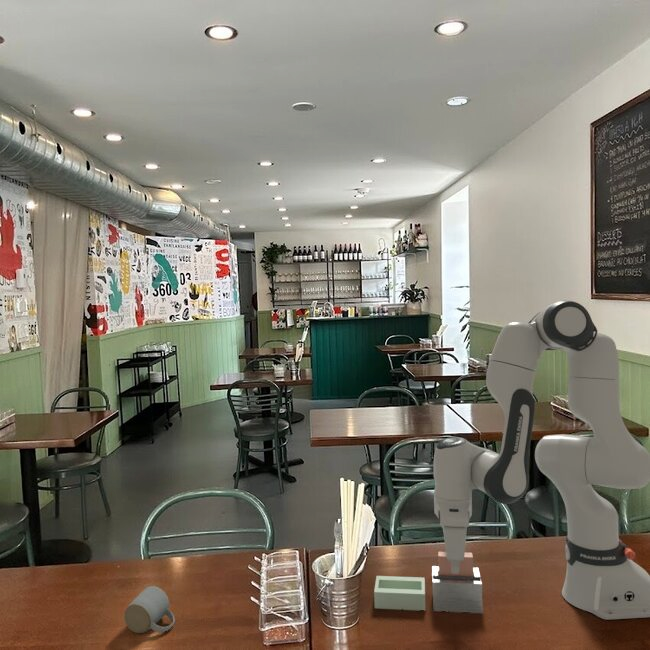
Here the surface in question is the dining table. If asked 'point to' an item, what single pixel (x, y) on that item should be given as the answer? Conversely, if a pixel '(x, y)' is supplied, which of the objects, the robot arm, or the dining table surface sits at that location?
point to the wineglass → (338, 527)
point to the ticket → (464, 566)
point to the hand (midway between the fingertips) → (454, 563)
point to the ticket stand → (399, 593)
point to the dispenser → (457, 592)
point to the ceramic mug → (148, 611)
